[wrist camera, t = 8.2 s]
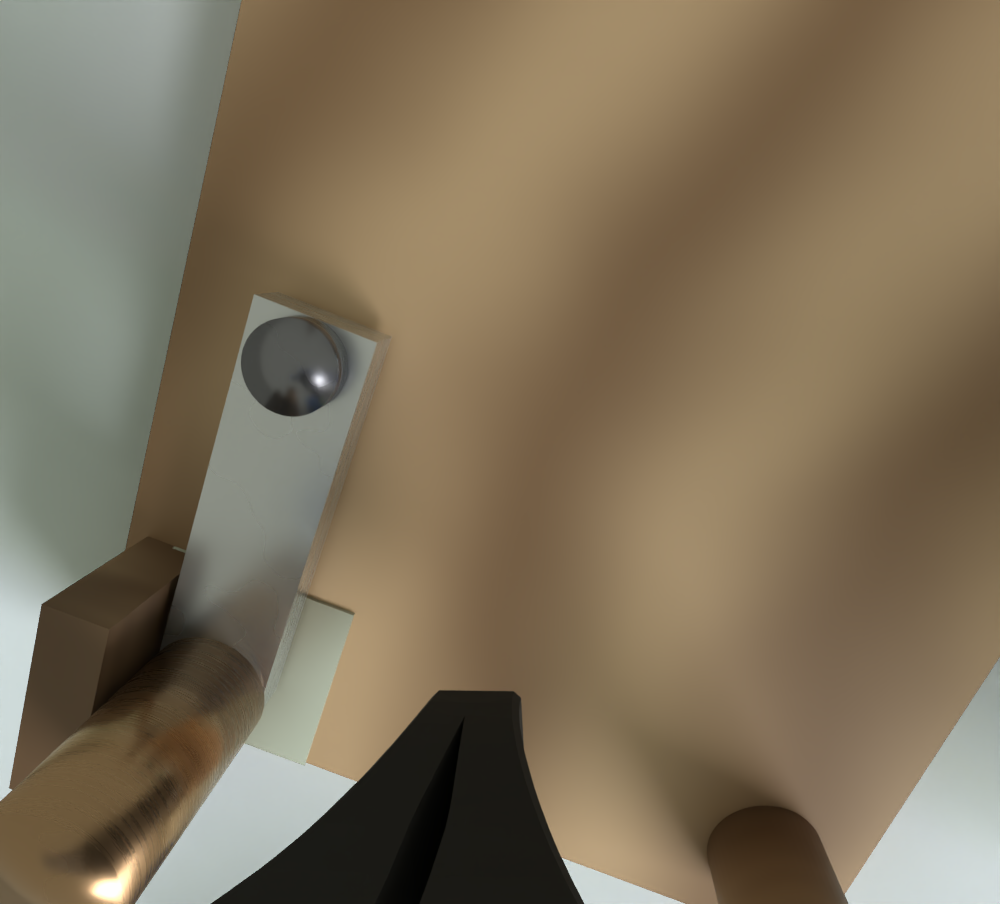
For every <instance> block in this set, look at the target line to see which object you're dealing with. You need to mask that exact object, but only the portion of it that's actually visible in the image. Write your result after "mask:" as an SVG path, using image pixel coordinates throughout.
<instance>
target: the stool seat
mask: <svg viewBox="0 0 1000 904" xmlns="http://www.w3.org/2000/svg"><path fill="white" fill-rule="evenodd" d="M273 292H280V293H282V294H285V295H287V296H290V297H292V298H295V299H298V300H300V301H303V302H305V303H308V304H310V305H313V306H315V307H318V308H320V309H323V310H325V311H328V312H331V313H333V314H336V315H338V316H341V317H343V318H346V319H348V320H351V321H353V322H356V323H359V324H361V325H364V326H366V327H369V328H371V329H374V330H376V331H379V332H381V333H384V334H386V335H389V336H392V338H391V341H390V344H389V347H388V350H387V353H386V356H385V359H384V362H383V365H382V368H381V371H380V375H379V378H378V381H377V384H376V387H375V390H374V393H373V396H372V399H371V402H370V405H369V408H368V411H367V414H366V417H365V420H364V423H363V426H362V429H361V432H360V435H359V438H358V441H357V445H356V448H355V451H354V454H353V457H352V460H351V463H350V466H349V469H348V472H347V475H346V478H345V481H344V484H343V487H342V490H341V493H340V496H339V499H338V502H337V505H336V508H335V511H334V514H333V518H332V521H331V524H330V527H329V530H328V533H327V536H326V539H325V542H324V545H323V548H322V551H321V554H320V557H319V560H318V563H317V566H316V569H315V572H314V575H313V578H312V581H311V584H310V587H309V591H308V594H307V597H306V600H305V603H304V606H303V609H302V612H301V615H300V618H299V621H298V624H297V627H296V630H295V633H294V636H293V639H292V642H291V645H290V648H289V651H288V654H287V657H286V661H285V664H284V667H283V670H282V673H281V676H280V679H279V682H278V685H277V688H276V690H275V692H274V693H273V695H272V696H271V698H270V699H269V701H268V702H267V703H266V705H265V706H264V709H263V713H262V716H261V718H260V720H259V722H258V724H257V725H256V727H255V728H254V730H253V731H252V733H251V734H250V736H249V737H248V738H247V740H246V741H245V744H248V745H250V746H253V747H256V748H258V749H261V750H264V751H267V752H269V753H272V754H275V755H277V756H280V757H283V758H285V759H288V760H291V761H293V762H296V763H299V764H302V765H305V763H309V764H312V765H314V766H317V767H320V768H322V769H325V770H328V771H330V772H333V773H336V774H338V775H341V776H344V777H346V778H349V779H352V780H355V781H357V782H358V781H359V780H360V779H361V778H362V777H363V775H364V774H365V773H366V772H367V771H368V770H369V769H370V768H371V767H372V766H373V765H374V764H375V762H376V761H377V760H378V759H379V758H380V757H381V756H382V755H383V754H384V753H385V751H386V750H387V749H388V748H389V747H390V746H391V745H392V744H393V743H394V741H395V740H396V739H397V738H398V737H399V736H400V735H401V733H402V732H403V731H404V730H405V729H406V728H407V726H408V725H409V724H410V723H411V722H412V720H413V719H414V718H415V717H416V716H417V714H418V713H419V712H420V711H421V710H422V708H423V707H424V706H425V705H426V704H427V702H428V701H429V700H430V699H431V698H432V697H433V696H434V695H435V694H436V693H437V692H438V691H439V690H464V691H514V692H515V693H516V694H517V695H519V696H520V697H521V705H522V723H523V740H524V751H525V755H526V759H527V763H528V766H529V770H530V774H531V777H532V781H533V784H534V788H535V791H536V794H537V797H538V800H539V803H540V805H541V808H542V811H543V813H544V816H545V819H546V821H547V824H548V827H549V829H550V832H551V834H552V837H553V839H554V842H555V844H556V846H557V849H558V851H559V853H560V855H561V857H562V858H564V859H567V860H570V861H572V862H575V863H578V864H580V865H583V866H586V867H589V868H591V869H594V870H597V871H599V872H602V873H605V874H607V875H610V876H613V877H615V878H618V879H621V880H624V881H626V882H629V883H632V884H634V885H637V886H640V887H642V888H645V889H648V890H650V891H653V892H656V893H658V894H661V895H664V896H667V897H669V898H672V899H675V900H677V901H680V902H683V903H685V904H848V902H847V900H846V897H845V895H844V894H845V893H846V891H847V890H848V888H849V887H850V885H851V884H852V882H853V881H854V879H855V878H856V876H857V875H858V873H859V872H860V870H861V868H862V867H863V865H864V864H865V862H866V861H867V859H868V858H869V856H870V855H871V853H872V852H873V850H874V849H875V847H876V845H877V844H878V842H879V841H880V839H881V838H882V836H883V835H884V833H885V832H886V830H887V829H888V827H889V826H890V824H891V823H892V821H893V819H894V818H895V816H896V815H897V813H898V812H899V810H900V809H901V807H902V806H903V804H904V803H905V801H906V800H907V798H908V796H909V795H910V793H911V792H912V790H913V789H914V787H915V786H916V784H917V783H918V781H919V780H920V778H921V777H922V775H923V774H924V772H925V770H926V769H927V767H928V766H929V764H930V763H931V761H932V760H933V758H934V757H935V755H936V754H937V752H938V751H939V749H940V747H941V746H942V744H943V743H944V741H945V740H946V738H947V737H948V735H949V734H950V732H951V731H952V729H953V728H954V726H955V725H956V723H957V721H958V720H959V718H960V717H961V715H962V714H963V712H964V711H965V709H966V708H967V706H968V705H969V703H970V702H971V700H972V698H973V697H974V695H975V694H976V692H977V691H978V689H979V688H980V686H981V685H982V683H983V682H984V680H985V679H986V677H987V676H988V674H989V672H990V671H991V669H992V668H993V666H994V665H995V663H996V662H997V660H998V659H999V657H1000V0H242V1H241V6H240V10H239V15H238V20H237V25H236V29H235V34H234V39H233V43H232V48H231V53H230V58H229V62H228V67H227V72H226V77H225V81H224V86H223V91H222V95H221V100H220V105H219V110H218V114H217V119H216V124H215V129H214V133H213V138H212V143H211V147H210V152H209V157H208V162H207V166H206V171H205V176H204V181H203V185H202V190H201V195H200V199H199V204H198V209H197V214H196V218H195V223H194V228H193V233H192V237H191V242H190V247H189V251H188V256H187V261H186V266H185V270H184V275H183V280H182V285H181V289H180V294H179V299H178V303H177V308H176V313H175V318H174V322H173V327H172V332H171V336H170V341H169V346H168V351H167V355H166V360H165V365H164V370H163V374H162V379H161V384H160V388H159V393H158V398H157V403H156V407H155V412H154V417H153V422H152V426H151V431H150V436H149V440H148V445H147V450H146V455H145V459H144V464H143V469H142V474H141V478H140V483H139V488H138V492H137V497H136V502H135V507H134V511H133V516H132V521H131V526H130V530H129V535H128V540H127V544H126V549H125V551H124V552H122V553H121V554H119V555H118V556H116V557H115V558H113V559H111V560H110V561H108V562H107V563H105V564H104V565H102V566H101V567H99V568H97V569H96V570H94V571H93V572H91V573H90V574H88V575H87V576H85V577H83V578H82V579H80V580H79V581H77V582H76V583H74V584H73V585H71V586H69V587H68V588H66V589H65V590H63V591H62V592H60V593H59V594H57V595H55V596H54V597H52V598H51V599H49V600H48V601H46V602H45V603H43V604H42V606H41V612H40V617H39V623H38V628H37V634H36V640H35V645H34V651H33V657H32V662H31V668H30V674H29V679H28V685H27V691H26V696H25V702H24V708H23V713H22V719H21V725H20V730H19V736H18V741H17V747H16V753H15V758H14V764H13V770H12V775H11V781H10V787H9V788H10V789H14V788H15V787H16V786H17V785H18V784H19V783H21V782H22V781H23V780H24V779H25V778H26V777H27V776H28V775H29V774H30V773H31V772H32V771H33V770H34V769H35V768H36V767H38V766H39V765H40V764H41V763H42V762H43V761H44V760H45V759H46V758H47V757H48V756H49V755H50V754H51V753H52V752H53V751H54V750H56V749H57V748H58V747H59V746H60V745H61V744H62V743H63V742H64V741H65V740H66V739H67V738H68V737H69V736H70V735H71V734H73V733H74V732H75V731H76V730H77V729H78V728H79V727H80V726H81V725H82V724H83V723H84V722H85V721H86V720H87V719H88V718H90V717H91V716H92V715H93V714H94V713H95V712H96V711H97V710H98V709H99V708H100V707H101V706H102V705H103V704H104V703H105V702H107V701H108V700H109V699H110V698H111V697H112V696H113V695H114V694H115V693H116V692H117V691H118V690H119V689H120V688H121V687H122V686H124V685H125V684H126V683H127V682H128V681H129V680H130V679H131V678H132V677H133V676H134V675H135V674H136V673H137V672H138V671H139V670H141V669H142V668H143V667H144V666H145V665H146V664H147V663H148V662H149V661H150V660H151V659H152V658H153V657H154V656H155V655H156V654H158V653H159V651H160V647H161V644H162V640H163V636H164V632H165V628H166V625H167V621H168V617H169V613H170V610H171V606H172V602H173V598H174V595H175V591H176V587H177V583H178V579H179V576H180V572H181V568H182V564H183V561H184V557H185V553H186V549H187V545H188V542H189V538H190V534H191V530H192V527H193V523H194V519H195V515H196V511H197V508H198V504H199V500H200V496H201V493H202V489H203V485H204V481H205V477H206V474H207V470H208V466H209V462H210V459H211V455H212V451H213V447H214V443H215V440H216V436H217V432H218V428H219V425H220V421H221V417H222V413H223V409H224V406H225V402H226V398H227V394H228V391H229V387H230V383H231V379H232V375H233V372H234V368H235V364H236V360H237V357H238V353H239V349H240V345H241V341H242V338H243V334H244V330H245V326H246V323H247V319H248V315H249V311H250V307H251V304H252V300H253V296H254V294H262V293H273Z"/></svg>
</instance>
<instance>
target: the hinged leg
mask: <svg viewBox="0 0 1000 904" xmlns="http://www.w3.org/2000/svg"><path fill="white" fill-rule="evenodd" d="M391 338H392V336H389V335H386V334H384V333H381V332H379V331H376V330H374V329H371V328H369V327H366V326H364V325H361V324H359V323H356V322H353V321H351V320H348V319H346V318H343V317H341V316H338V315H336V314H333V313H331V312H328V311H325V310H323V309H320V308H318V307H315V306H313V305H310V304H308V303H305V302H303V301H300V300H298V299H295V298H292V297H290V296H287V295H285V294H282V293H280V292H273V293H262V294H254V296H253V300H252V304H251V307H250V311H249V315H248V319H247V323H246V326H245V330H244V334H243V338H242V341H241V345H240V349H239V353H238V357H237V360H236V364H235V368H234V372H233V375H232V379H231V383H230V387H229V391H228V394H227V398H226V402H225V406H224V409H223V413H222V417H221V421H220V425H219V428H218V432H217V436H216V440H215V443H214V447H213V451H212V455H211V459H210V462H209V466H208V470H207V474H206V477H205V481H204V485H203V489H202V493H201V496H200V500H199V504H198V508H197V511H196V515H195V519H194V523H193V527H192V530H191V534H190V538H189V542H188V545H187V549H186V553H185V557H184V561H183V564H182V568H181V572H180V576H179V579H178V583H177V587H176V591H175V595H174V598H173V602H172V606H171V610H170V613H169V617H168V621H167V625H166V628H165V632H164V636H163V640H162V644H161V647H160V651H159V653H158V654H156V655H155V656H154V657H153V658H152V659H151V660H150V661H149V662H148V663H147V664H146V665H145V666H144V667H143V668H142V669H141V670H139V671H138V672H137V673H136V674H135V675H134V676H133V677H132V678H131V679H130V680H129V681H128V682H127V683H126V684H125V685H124V686H122V687H121V688H120V689H119V690H118V691H117V692H116V693H115V694H114V695H113V696H112V697H111V698H110V699H109V700H108V701H107V702H105V703H104V704H103V705H102V706H101V707H100V708H99V709H98V710H97V711H96V712H95V713H94V714H93V715H92V716H91V717H90V718H88V719H87V720H86V721H85V722H84V723H83V724H82V725H81V726H80V727H79V728H78V729H77V730H76V731H75V732H74V733H73V734H71V735H70V736H69V737H68V738H67V739H66V740H65V741H64V742H63V743H62V744H61V745H60V746H59V747H58V748H57V749H56V750H54V751H53V752H52V753H51V754H50V755H49V756H48V757H47V758H46V759H45V760H44V761H43V762H42V763H41V764H40V765H39V766H38V767H36V768H35V769H34V770H33V771H32V772H31V773H30V774H29V775H28V776H27V777H26V778H25V779H24V780H23V781H22V782H21V783H19V784H18V785H17V786H16V787H15V788H14V789H13V790H12V791H11V792H10V793H9V794H8V795H7V796H6V797H5V798H4V799H2V800H1V801H0V904H135V903H136V901H137V900H138V898H139V897H140V895H141V894H142V892H143V891H144V889H145V888H146V887H147V885H148V884H149V882H150V881H151V879H152V878H153V876H154V875H155V873H156V872H157V870H158V869H159V867H160V866H161V865H162V863H163V862H164V860H165V859H166V857H167V856H168V854H169V853H170V851H171V850H172V848H173V847H174V846H175V844H176V843H177V841H178V840H179V838H180V837H181V835H182V834H183V832H184V831H185V829H186V828H187V826H188V825H189V824H190V822H191V821H192V819H193V818H194V816H195V815H196V813H197V812H198V810H199V809H200V807H201V806H202V804H203V803H204V802H205V800H206V799H207V797H208V796H209V794H210V793H211V791H212V790H213V788H214V787H215V785H216V784H217V782H218V781H219V780H220V778H221V777H222V775H223V774H224V772H225V771H226V769H227V768H228V766H229V765H230V763H231V762H232V760H233V759H234V758H235V756H236V755H237V753H238V752H239V750H240V749H241V747H242V746H243V744H244V743H245V741H246V740H247V738H248V737H249V736H250V734H251V733H252V731H253V730H254V728H255V727H256V725H257V724H258V722H259V720H260V718H261V716H262V713H263V709H264V706H265V705H266V703H267V702H268V701H269V699H270V698H271V696H272V695H273V693H274V692H275V690H276V688H277V685H278V682H279V679H280V676H281V673H282V670H283V667H284V664H285V661H286V657H287V654H288V651H289V648H290V645H291V642H292V639H293V636H294V633H295V630H296V627H297V624H298V621H299V618H300V615H301V612H302V609H303V606H304V603H305V600H306V597H307V594H308V591H309V587H310V584H311V581H312V578H313V575H314V572H315V569H316V566H317V563H318V560H319V557H320V554H321V551H322V548H323V545H324V542H325V539H326V536H327V533H328V530H329V527H330V524H331V521H332V518H333V514H334V511H335V508H336V505H337V502H338V499H339V496H340V493H341V490H342V487H343V484H344V481H345V478H346V475H347V472H348V469H349V466H350V463H351V460H352V457H353V454H354V451H355V448H356V445H357V441H358V438H359V435H360V432H361V429H362V426H363V423H364V420H365V417H366V414H367V411H368V408H369V405H370V402H371V399H372V396H373V393H374V390H375V387H376V384H377V381H378V378H379V375H380V371H381V368H382V365H383V362H384V359H385V356H386V353H387V350H388V347H389V344H390V341H391Z"/></svg>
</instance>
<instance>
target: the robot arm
mask: <svg viewBox="0 0 1000 904" xmlns="http://www.w3.org/2000/svg"><path fill="white" fill-rule="evenodd" d="M211 904H584V902H583V900H582V899H581V897H580V895H579V893H578V891H577V889H576V887H575V885H574V883H573V881H572V879H571V877H570V875H569V873H568V870H567V868H566V866H565V864H564V862H563V860H562V858H561V855H560V853H559V851H558V849H557V846H556V844H555V842H554V839H553V837H552V834H551V832H550V829H549V827H548V824H547V821H546V819H545V816H544V813H543V811H542V808H541V805H540V803H539V800H538V797H537V794H536V791H535V788H534V784H533V781H532V777H531V774H530V770H529V766H528V763H527V759H526V755H525V751H524V740H523V723H522V705H521V697H520V696H519V695H517V694H516V693H515V692H514V691H464V690H439V691H438V692H437V693H436V694H435V695H434V696H433V697H432V698H431V699H430V700H429V701H428V702H427V704H426V705H425V706H424V707H423V708H422V710H421V711H420V712H419V713H418V714H417V716H416V717H415V718H414V719H413V720H412V722H411V723H410V724H409V725H408V726H407V728H406V729H405V730H404V731H403V732H402V733H401V735H400V736H399V737H398V738H397V739H396V740H395V741H394V743H393V744H392V745H391V746H390V747H389V748H388V749H387V750H386V751H385V753H384V754H383V755H382V756H381V757H380V758H379V759H378V760H377V761H376V762H375V764H374V765H373V766H372V767H371V768H370V769H369V770H368V771H367V772H366V773H365V774H364V775H363V777H362V778H361V779H360V780H359V781H358V782H357V783H356V784H355V785H354V786H353V787H352V788H351V789H350V790H349V791H348V792H347V793H346V794H345V795H344V796H343V797H342V798H340V799H339V800H338V801H337V802H336V803H335V804H334V805H333V806H332V807H331V808H330V809H329V810H328V811H327V812H326V813H325V814H324V815H323V816H322V817H321V818H320V819H319V820H318V821H317V822H316V823H314V824H313V825H312V826H311V827H310V828H309V829H308V830H307V831H306V832H304V833H303V834H302V835H301V836H300V837H299V838H298V839H296V840H295V841H294V842H293V843H291V844H290V845H289V846H288V847H287V848H285V849H284V850H283V851H282V852H281V853H279V854H278V855H277V856H276V857H274V858H273V859H272V860H271V861H269V862H268V863H267V864H265V865H264V866H263V867H262V868H260V869H259V870H258V871H256V872H255V873H253V874H252V875H251V876H249V877H248V878H246V879H245V880H244V881H242V882H241V883H239V884H238V885H237V886H235V887H234V888H232V889H231V890H230V891H228V892H227V893H225V894H224V895H223V896H221V897H220V898H218V899H217V900H216V901H214V902H213V903H211Z"/></svg>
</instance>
